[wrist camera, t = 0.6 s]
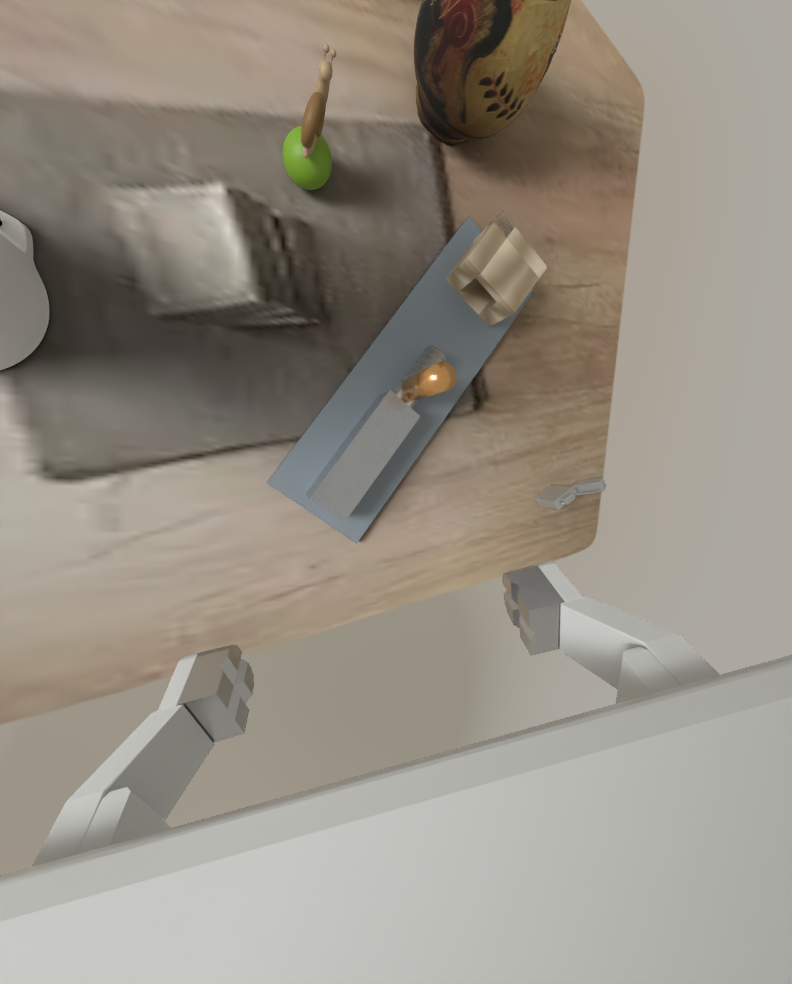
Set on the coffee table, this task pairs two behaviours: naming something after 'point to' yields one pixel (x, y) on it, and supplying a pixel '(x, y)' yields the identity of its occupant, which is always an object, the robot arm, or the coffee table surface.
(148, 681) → the coffee table surface
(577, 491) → the lighter
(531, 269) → the birch socket
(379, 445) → the grey sleeve
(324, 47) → the snail figurine
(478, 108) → the ceramic jug
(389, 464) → the slate board
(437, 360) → the bolt with orange handle
